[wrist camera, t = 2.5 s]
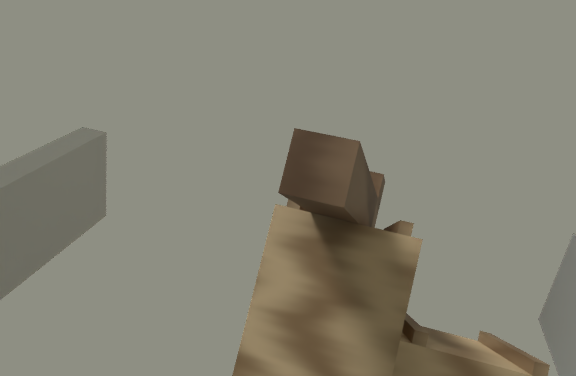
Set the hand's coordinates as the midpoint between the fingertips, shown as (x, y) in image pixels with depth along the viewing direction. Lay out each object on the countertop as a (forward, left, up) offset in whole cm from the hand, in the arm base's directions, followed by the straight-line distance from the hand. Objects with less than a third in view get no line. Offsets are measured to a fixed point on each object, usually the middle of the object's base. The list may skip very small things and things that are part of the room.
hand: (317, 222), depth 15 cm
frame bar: (0, +20, +1) cm, 20 cm away
